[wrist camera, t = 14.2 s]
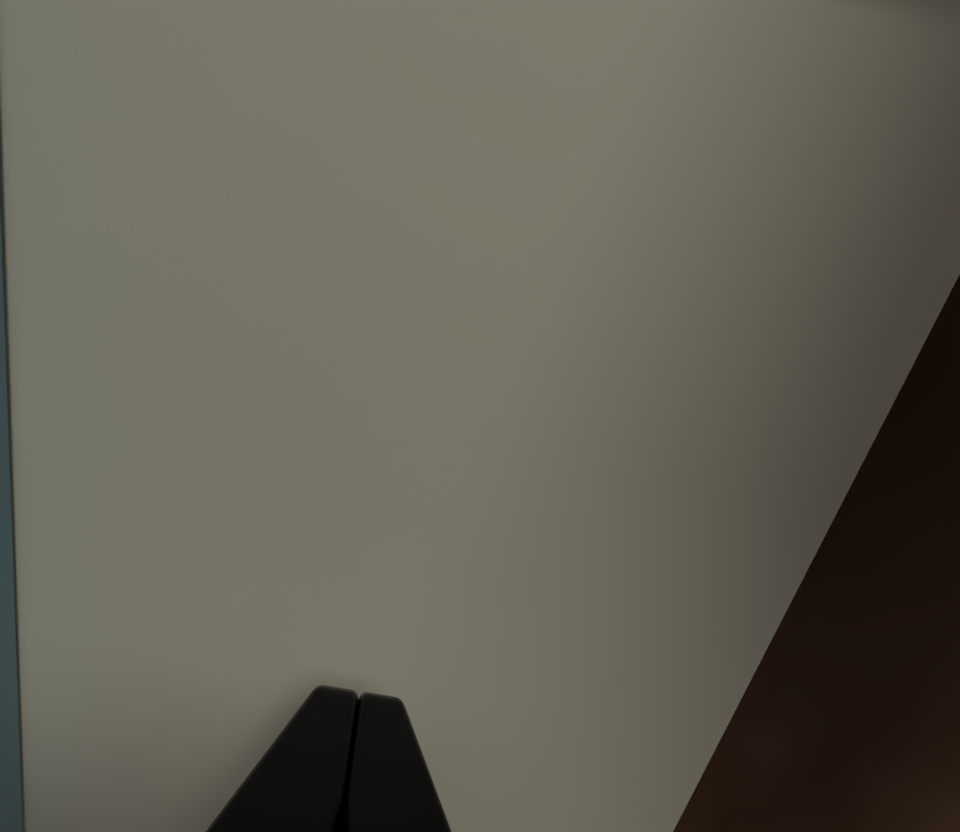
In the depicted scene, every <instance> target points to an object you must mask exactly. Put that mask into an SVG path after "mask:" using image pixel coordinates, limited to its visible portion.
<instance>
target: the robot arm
mask: <svg viewBox="0 0 960 832" xmlns="http://www.w3.org/2000/svg"><path fill="white" fill-rule="evenodd" d="M205 832H452V831H451V829H450V826H449V823H448V821H447V818H446V815H445V813H444V810H443V807H442V804H441V802H440V799H439V796H438V794H437V791H436V788H435V786H434V783H433V780H432V778H431V775H430V772H429V769H428V767H427V764H426V761H425V759H424V756H423V753H422V751H421V748H420V745H419V743H418V740H417V737H416V734H415V732H414V729H413V726H412V724H411V721H410V718H409V716H408V713H407V710H406V708H405V705H404V703H403V702H402V700H400V699H399V698H398V697H394V696H387V695H381V694H375V693H369V692H365V693H363V694H361V696H360V697H359V699H358V695H357V693H356V692H355V691H354V690H351V689H345V688H338V687H332V686H326V685H320V686H317V687H316V688H315V689H314V690H313V691H312V692H311V693H310V694H309V696H308V697H307V698H306V700H305V701H304V702H303V704H302V705H301V706H300V707H299V709H298V710H297V711H296V713H295V714H294V715H293V717H292V718H291V719H290V721H289V722H288V723H287V725H286V726H285V727H284V729H283V730H282V731H281V733H280V734H279V735H278V736H277V738H276V739H275V740H274V742H273V743H272V744H271V746H270V747H269V748H268V750H267V751H266V752H265V754H264V755H263V756H262V758H261V759H260V760H259V761H258V763H257V764H256V765H255V767H254V768H253V769H252V771H251V772H250V773H249V775H248V776H247V777H246V779H245V780H244V781H243V783H242V784H241V785H240V787H239V788H238V789H237V790H236V792H235V793H234V794H233V796H232V797H231V798H230V800H229V801H228V802H227V804H226V805H225V806H224V808H223V809H222V810H221V812H220V813H219V814H218V816H217V817H216V818H215V819H214V821H213V822H212V823H211V825H210V826H209V827H208V829H207V830H206V831H205Z"/></svg>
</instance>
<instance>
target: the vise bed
mask: <svg viewBox="0 0 960 832" xmlns="http://www.w3.org/2000/svg"><path fill="white" fill-rule="evenodd" d="M0 214H1V242H2V270H3V298H4V326H5V354H6V382H7V410H8V438H9V466H10V494H11V522H12V550H13V578H14V606H15V634H16V662H17V691H18V719H19V747H20V775H21V803H22V831H23V832H205V831H206V830H207V829H208V827H209V826H210V825H211V823H212V822H213V821H214V819H215V818H216V817H217V816H218V814H219V813H220V812H221V810H222V809H223V808H224V806H225V805H226V804H227V802H228V801H229V800H230V798H231V797H232V796H233V794H234V793H235V792H236V790H237V789H238V788H239V787H240V785H241V784H242V783H243V781H244V780H245V779H246V777H247V776H248V775H249V773H250V772H251V771H252V769H253V768H254V767H255V765H256V764H257V763H258V761H259V760H260V759H261V758H262V756H263V755H264V754H265V752H266V751H267V750H268V748H269V747H270V746H271V744H272V743H273V742H274V740H275V739H276V738H277V736H278V735H279V734H280V733H281V731H282V730H283V729H284V727H285V726H286V725H287V723H288V722H289V721H290V719H291V718H292V717H293V715H294V714H295V713H296V711H297V710H298V709H299V707H300V706H301V705H302V704H303V702H304V701H305V700H306V698H307V697H308V696H309V694H310V693H311V692H312V691H313V690H314V689H315V688H316V687H317V686H320V685H326V686H332V687H338V688H345V689H351V690H354V691H355V692H356V693H357V695H358V699H359V697H360V696H361V694H363V693H365V692H369V693H375V694H381V695H387V696H394V697H398V698H399V699H400V700H402V702H403V703H404V705H405V708H406V710H407V713H408V716H409V718H410V721H411V724H412V726H413V729H414V732H415V734H416V737H417V740H418V743H419V745H420V748H421V751H422V753H423V756H424V759H425V761H426V764H427V767H428V769H429V772H430V775H431V778H432V780H433V783H434V786H435V788H436V791H437V794H438V796H439V799H440V802H441V804H442V807H443V810H444V813H445V815H446V818H447V821H448V823H449V826H450V829H451V831H452V832H673V831H674V829H675V827H676V825H677V823H678V821H679V819H680V817H681V815H682V813H683V811H684V809H685V808H686V806H687V804H688V802H689V800H690V798H691V796H692V794H693V792H694V790H695V788H696V786H697V784H698V782H699V780H700V778H701V776H702V774H703V773H704V771H705V769H706V767H707V765H708V763H709V761H710V759H711V757H712V755H713V753H714V751H715V749H716V747H717V745H718V743H719V741H720V739H721V738H722V736H723V734H724V732H725V730H726V728H727V726H728V724H729V722H730V720H731V718H732V716H733V714H734V712H735V710H736V708H737V706H738V704H739V703H740V701H741V699H742V697H743V695H744V693H745V691H746V689H747V687H748V685H749V683H750V681H751V679H752V677H753V675H754V673H755V671H756V669H757V668H758V666H759V664H760V662H761V660H762V658H763V656H764V654H765V652H766V650H767V648H768V646H769V644H770V642H771V640H772V638H773V636H774V634H775V632H776V631H777V629H778V627H779V625H780V623H781V621H782V619H783V617H784V615H785V613H786V611H787V609H788V607H789V605H790V603H791V601H792V599H793V597H794V596H795V594H796V592H797V590H798V588H799V586H800V584H801V582H802V580H803V578H804V576H805V574H806V572H807V570H808V568H809V566H810V564H811V562H812V561H813V559H814V557H815V555H816V553H817V551H818V549H819V547H820V545H821V543H822V541H823V539H824V537H825V535H826V533H827V531H828V529H829V527H830V526H831V524H832V522H833V520H834V518H835V516H836V514H837V512H838V510H839V508H840V506H841V504H842V502H843V500H844V498H845V496H846V494H847V492H848V491H849V489H850V487H851V485H852V483H853V481H854V479H855V477H856V475H857V473H858V471H859V469H860V467H861V465H862V463H863V461H864V459H865V457H866V456H867V454H868V452H869V450H870V448H871V446H872V444H873V442H874V440H875V438H876V436H877V434H878V432H879V430H880V428H881V426H882V424H883V422H884V420H885V419H886V417H887V415H888V413H889V411H890V409H891V407H892V405H893V403H894V401H895V399H896V397H897V395H898V393H899V391H900V389H901V387H902V385H903V384H904V382H905V380H906V378H907V376H908V374H909V372H910V370H911V368H912V366H913V364H914V362H915V360H916V358H917V356H918V354H919V352H920V350H921V349H922V347H923V345H924V343H925V341H926V339H927V337H928V335H929V333H930V331H931V329H932V327H933V325H934V323H935V321H936V319H937V317H938V315H939V314H940V312H941V310H942V308H943V306H944V304H945V302H946V300H947V298H948V296H949V294H950V292H951V290H952V288H953V286H954V284H955V282H956V280H957V279H958V277H959V275H960V0H0Z"/></svg>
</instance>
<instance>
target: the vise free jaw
mask: <svg viewBox="0 0 960 832" xmlns="http://www.w3.org/2000/svg"><path fill="white" fill-rule="evenodd" d="M0 832H23V831H22V803H21V775H20V747H19V719H18V691H17V662H16V634H15V606H14V578H13V550H12V522H11V494H10V466H9V438H8V410H7V382H6V354H5V326H4V298H3V270H2V242H1V214H0Z"/></svg>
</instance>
